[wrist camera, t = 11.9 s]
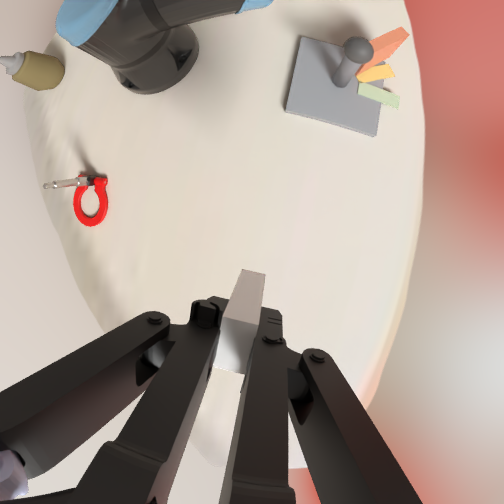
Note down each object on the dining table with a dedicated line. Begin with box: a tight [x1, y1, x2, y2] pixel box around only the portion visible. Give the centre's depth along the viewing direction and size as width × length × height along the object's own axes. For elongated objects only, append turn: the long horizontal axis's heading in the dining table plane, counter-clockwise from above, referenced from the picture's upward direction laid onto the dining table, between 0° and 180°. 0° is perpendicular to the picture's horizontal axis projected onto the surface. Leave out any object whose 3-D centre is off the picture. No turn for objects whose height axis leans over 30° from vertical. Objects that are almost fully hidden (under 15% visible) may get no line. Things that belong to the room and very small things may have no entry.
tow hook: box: [43, 175, 108, 227], centre depth 36 cm, size 8×13×9 cm
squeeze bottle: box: [0, 51, 65, 91], centre depth 28 cm, size 8×8×18 cm
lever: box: [332, 27, 409, 88], centre depth 26 cm, size 12×4×12 cm, turn 128°
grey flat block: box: [285, 37, 400, 137], centre depth 33 cm, size 17×14×2 cm
